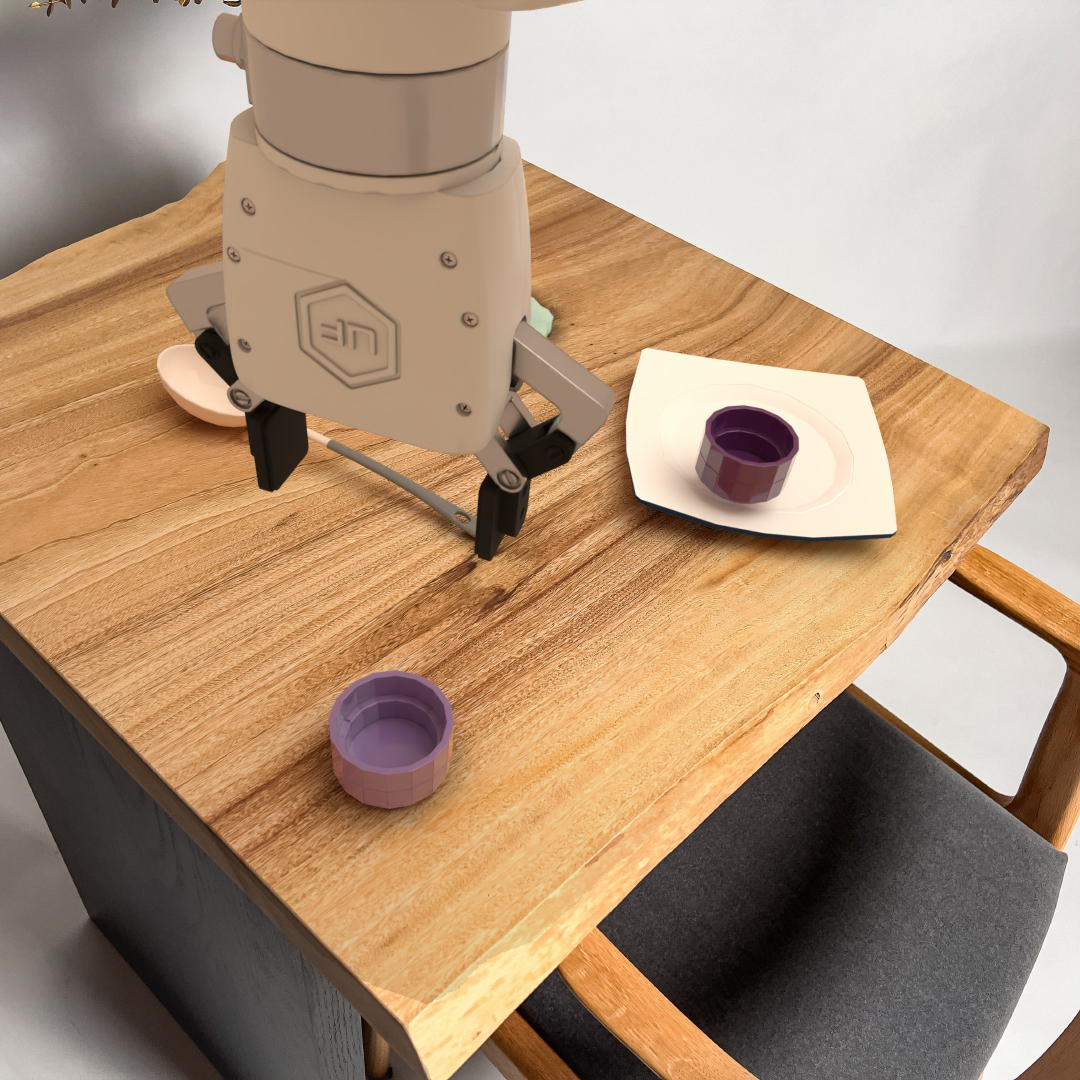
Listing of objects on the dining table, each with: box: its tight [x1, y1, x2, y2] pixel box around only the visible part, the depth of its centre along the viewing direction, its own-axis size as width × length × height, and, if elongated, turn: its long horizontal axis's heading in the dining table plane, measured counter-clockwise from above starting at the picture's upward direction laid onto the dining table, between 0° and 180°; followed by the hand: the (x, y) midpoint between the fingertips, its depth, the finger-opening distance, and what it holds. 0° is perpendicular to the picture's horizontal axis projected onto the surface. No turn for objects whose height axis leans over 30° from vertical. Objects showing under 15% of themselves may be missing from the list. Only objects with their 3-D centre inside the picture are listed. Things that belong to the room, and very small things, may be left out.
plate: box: [624, 347, 898, 543], centre depth 77 cm, size 20×20×3 cm
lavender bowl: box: [328, 669, 455, 810], centre depth 55 cm, size 7×7×4 cm
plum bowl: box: [695, 405, 799, 504], centre depth 71 cm, size 7×7×4 cm
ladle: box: [156, 343, 477, 539], centre depth 73 cm, size 6×28×5 cm, turn 61°
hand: (388, 503), depth 42 cm, fingers open, 9 cm apart
